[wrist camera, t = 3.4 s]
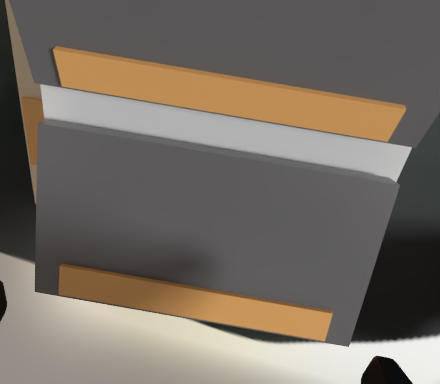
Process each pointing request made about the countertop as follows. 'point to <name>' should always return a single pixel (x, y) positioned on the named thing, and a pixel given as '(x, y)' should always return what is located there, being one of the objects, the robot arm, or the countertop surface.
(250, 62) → the switch middle
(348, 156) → the switch unit
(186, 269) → the switch
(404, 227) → the countertop surface
